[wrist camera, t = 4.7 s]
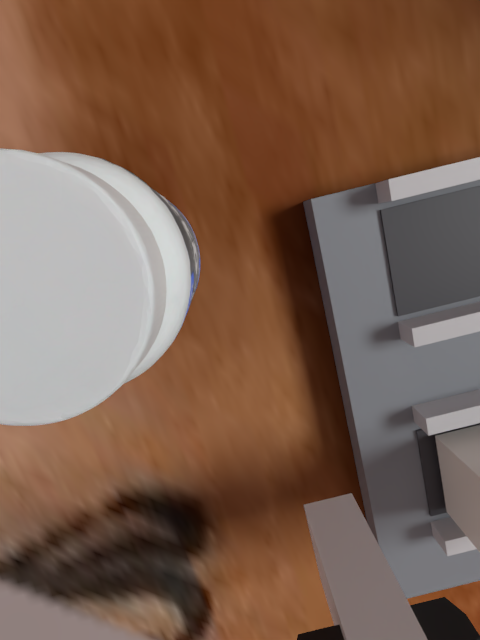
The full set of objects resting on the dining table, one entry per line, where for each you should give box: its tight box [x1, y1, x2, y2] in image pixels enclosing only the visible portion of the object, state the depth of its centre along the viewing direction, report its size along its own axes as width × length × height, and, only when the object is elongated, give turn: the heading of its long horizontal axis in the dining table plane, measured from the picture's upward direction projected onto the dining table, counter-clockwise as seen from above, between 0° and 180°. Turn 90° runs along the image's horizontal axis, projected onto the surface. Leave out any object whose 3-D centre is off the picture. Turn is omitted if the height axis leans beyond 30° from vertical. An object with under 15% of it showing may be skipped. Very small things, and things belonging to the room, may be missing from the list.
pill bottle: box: [0, 149, 200, 426], centre depth 10 cm, size 5×5×8 cm
